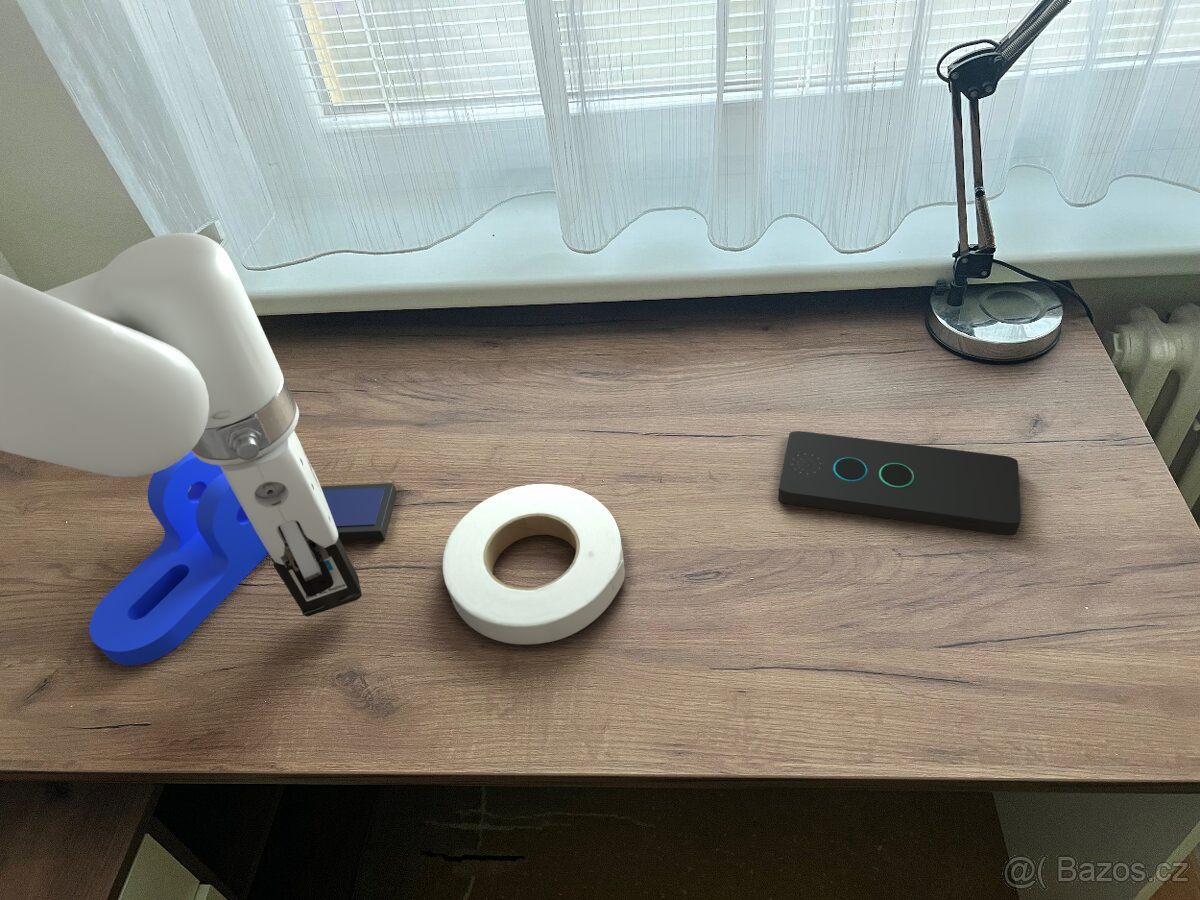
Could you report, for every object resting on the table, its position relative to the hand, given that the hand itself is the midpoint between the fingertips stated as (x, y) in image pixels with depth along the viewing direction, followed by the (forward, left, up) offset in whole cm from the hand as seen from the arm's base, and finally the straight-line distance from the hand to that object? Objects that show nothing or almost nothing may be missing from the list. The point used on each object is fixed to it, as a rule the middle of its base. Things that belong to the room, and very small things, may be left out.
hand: (322, 575), depth 72 cm
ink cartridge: (0, 0, -3) cm, 3 cm away
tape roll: (+17, +3, -5) cm, 18 cm away
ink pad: (-2, +10, -4) cm, 11 cm away
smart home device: (+49, +11, -5) cm, 51 cm away
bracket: (-14, +3, -5) cm, 15 cm away
